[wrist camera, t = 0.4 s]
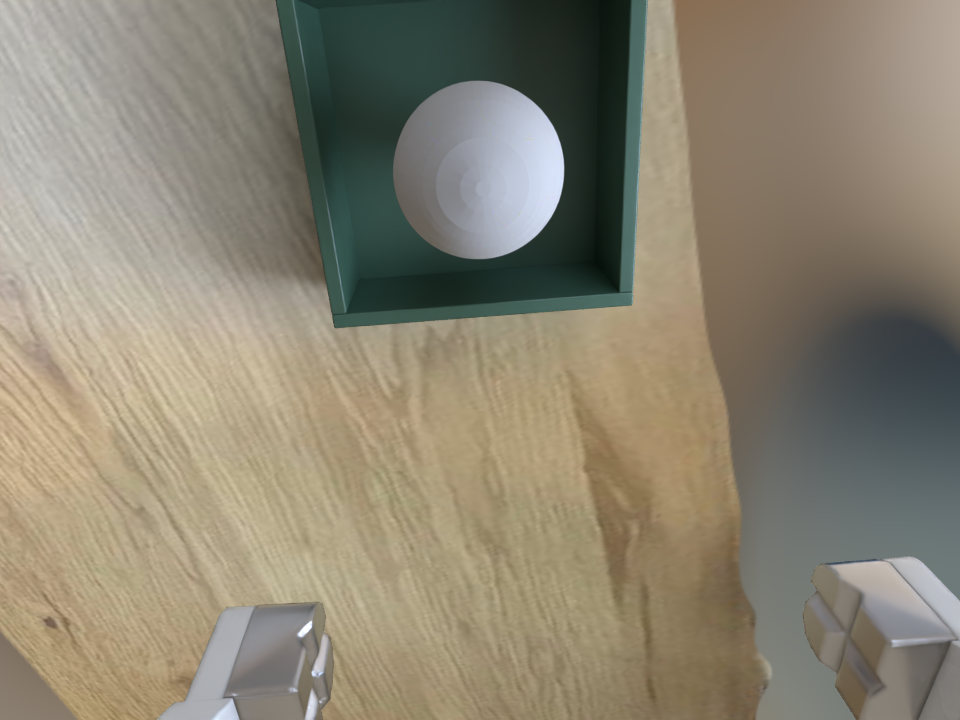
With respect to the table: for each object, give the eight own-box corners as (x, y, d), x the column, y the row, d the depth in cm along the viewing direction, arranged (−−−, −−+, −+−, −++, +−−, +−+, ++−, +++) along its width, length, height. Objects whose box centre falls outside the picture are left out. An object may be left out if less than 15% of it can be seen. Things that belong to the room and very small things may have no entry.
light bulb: (494, 231, 28) (517, 310, 19) (384, 173, 27) (354, 228, 18) (556, 119, 26) (616, 147, 17) (442, 50, 25) (441, 41, 16)
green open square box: (303, -8, 24) (270, -24, 19) (612, -28, 24) (650, -49, 20) (351, 288, 29) (334, 328, 25) (604, 269, 30) (633, 305, 25)
